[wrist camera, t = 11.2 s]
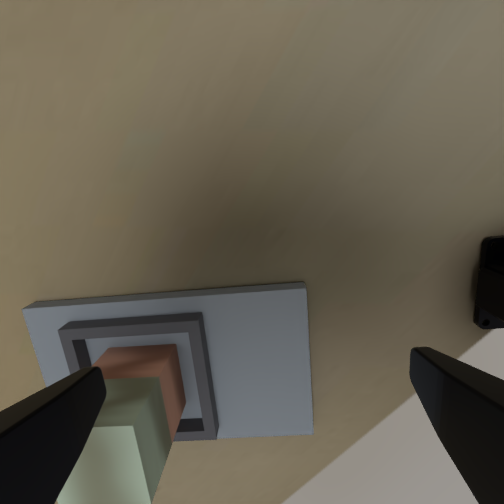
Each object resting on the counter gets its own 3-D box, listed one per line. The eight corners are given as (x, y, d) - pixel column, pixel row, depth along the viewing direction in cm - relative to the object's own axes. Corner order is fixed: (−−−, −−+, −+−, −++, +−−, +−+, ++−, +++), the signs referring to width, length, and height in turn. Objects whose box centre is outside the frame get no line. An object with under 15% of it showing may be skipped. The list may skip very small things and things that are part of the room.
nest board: (303, 281, 20) (309, 295, 18) (311, 421, 23) (316, 448, 21) (34, 302, 21) (6, 317, 19) (74, 432, 24) (54, 459, 22)
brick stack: (176, 343, 20) (132, 425, 14) (186, 402, 22) (151, 504, 15) (108, 347, 21) (33, 429, 14) (122, 405, 22) (59, 506, 15)
